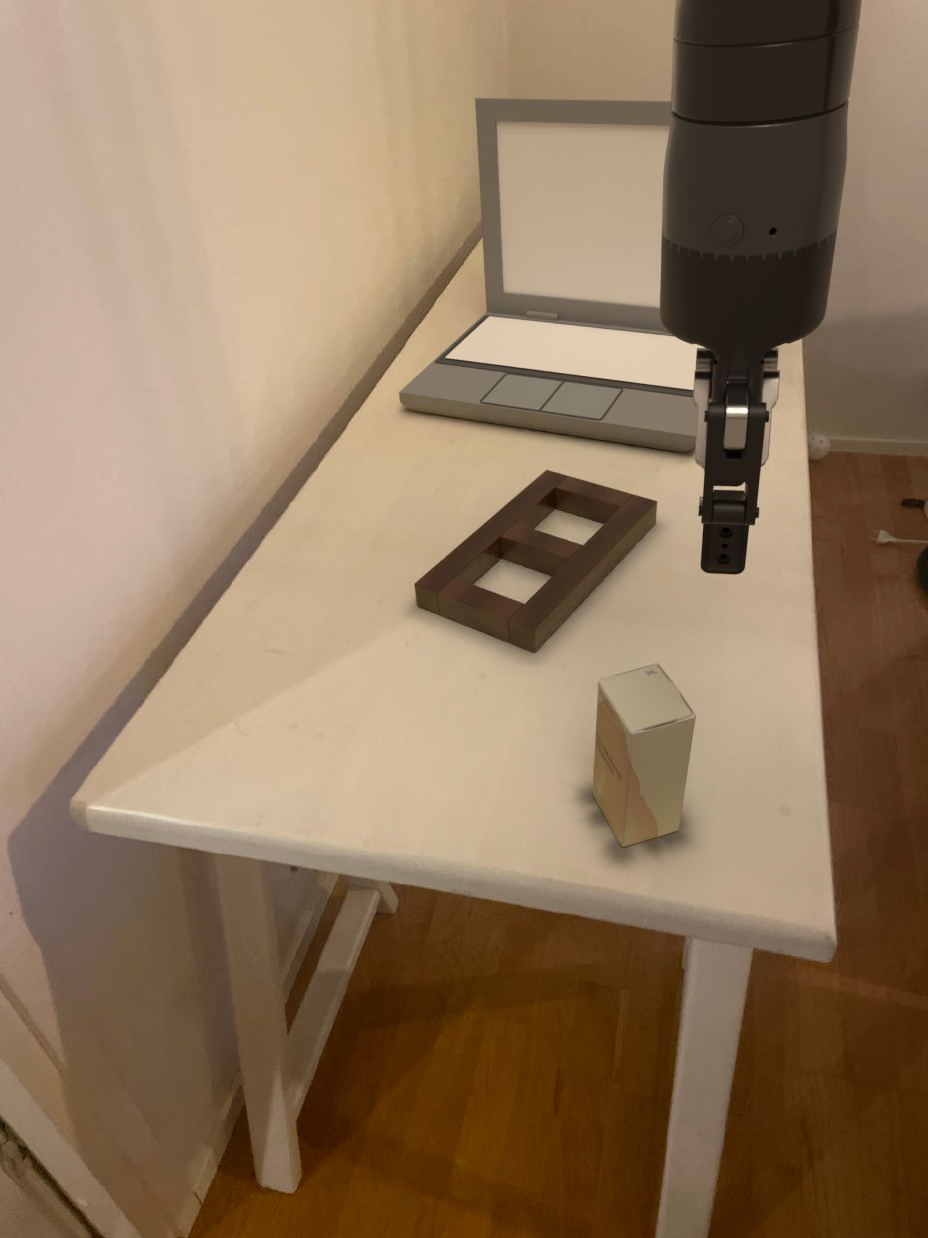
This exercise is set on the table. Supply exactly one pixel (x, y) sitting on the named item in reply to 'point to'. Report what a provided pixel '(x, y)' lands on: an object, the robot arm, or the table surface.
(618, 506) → the socket pad
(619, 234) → the laptop
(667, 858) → the table surface
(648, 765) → the box
